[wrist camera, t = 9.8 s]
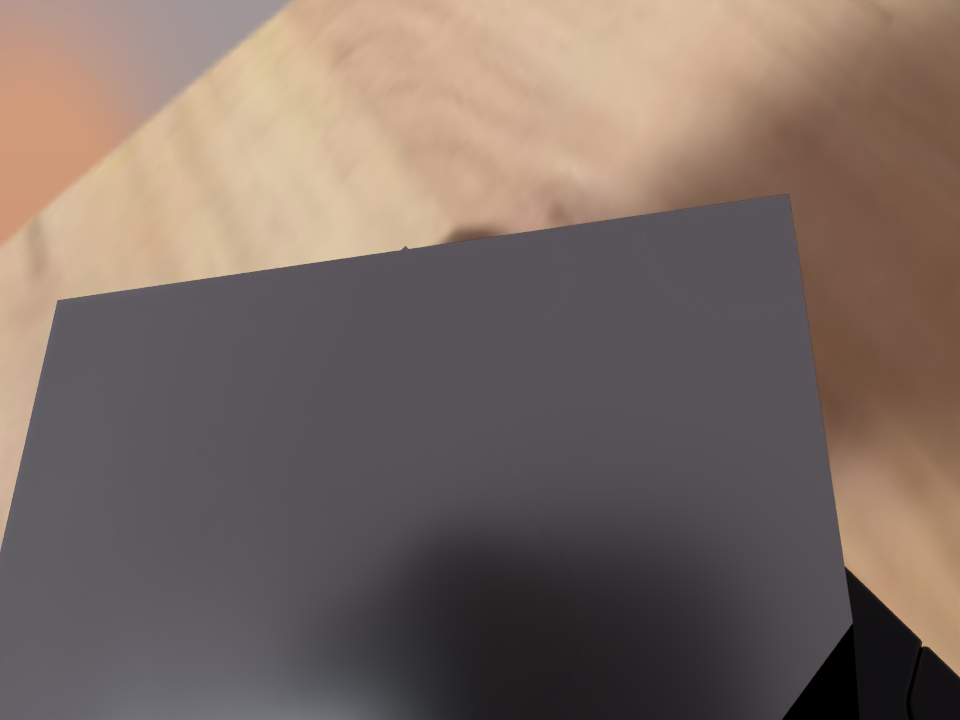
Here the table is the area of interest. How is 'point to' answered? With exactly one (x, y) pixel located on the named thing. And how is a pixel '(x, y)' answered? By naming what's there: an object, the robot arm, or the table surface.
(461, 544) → the link block
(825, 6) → the table surface
